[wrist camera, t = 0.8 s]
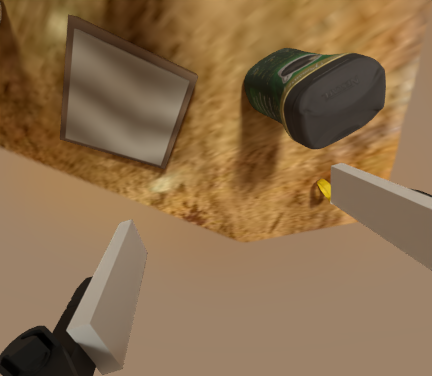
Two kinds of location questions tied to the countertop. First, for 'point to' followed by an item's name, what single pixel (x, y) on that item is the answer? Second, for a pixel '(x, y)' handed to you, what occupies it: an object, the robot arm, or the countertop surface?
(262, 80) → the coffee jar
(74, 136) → the plinth
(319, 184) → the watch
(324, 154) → the countertop surface
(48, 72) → the countertop surface
